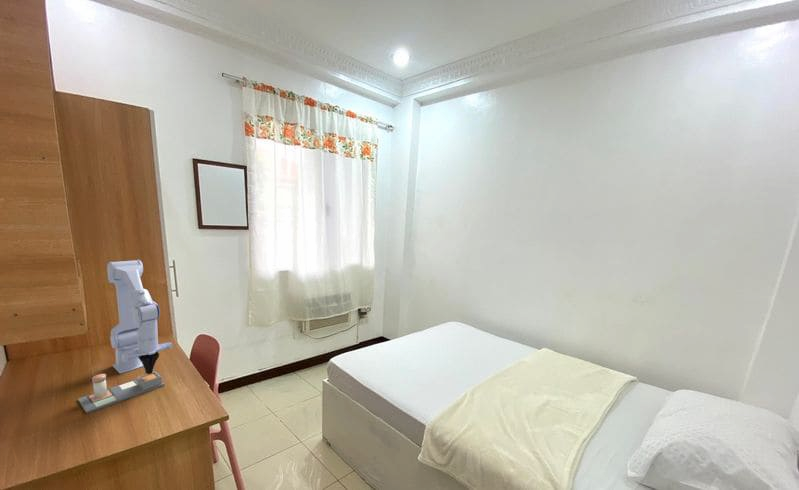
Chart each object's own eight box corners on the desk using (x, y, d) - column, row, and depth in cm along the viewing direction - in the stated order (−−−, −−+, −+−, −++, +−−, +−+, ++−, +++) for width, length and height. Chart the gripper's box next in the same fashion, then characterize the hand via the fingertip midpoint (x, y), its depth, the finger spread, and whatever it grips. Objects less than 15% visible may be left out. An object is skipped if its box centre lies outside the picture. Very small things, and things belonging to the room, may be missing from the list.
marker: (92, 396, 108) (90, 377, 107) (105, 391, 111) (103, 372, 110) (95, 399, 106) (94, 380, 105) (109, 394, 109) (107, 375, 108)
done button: (141, 383, 116) (141, 377, 115) (153, 379, 119) (153, 373, 119) (145, 387, 114) (144, 381, 113) (157, 383, 117) (157, 377, 116)
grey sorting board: (77, 400, 106) (77, 390, 106) (153, 375, 123) (153, 366, 123) (86, 413, 100) (85, 403, 100) (164, 385, 117) (164, 376, 117)
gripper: (125, 347, 106) (127, 385, 108) (175, 334, 118) (176, 368, 120) (119, 341, 110) (120, 377, 112) (167, 329, 122) (168, 362, 123)
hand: (148, 372), depth 116 cm, fingers closed
